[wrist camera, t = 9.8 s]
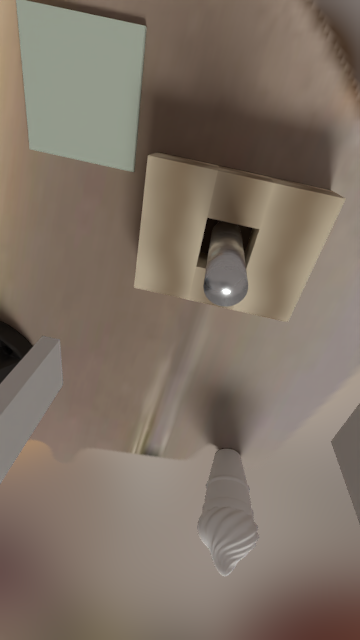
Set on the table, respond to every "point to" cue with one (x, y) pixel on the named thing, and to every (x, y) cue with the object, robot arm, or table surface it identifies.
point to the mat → (81, 83)
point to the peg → (225, 266)
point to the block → (238, 208)
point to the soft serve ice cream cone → (227, 513)
